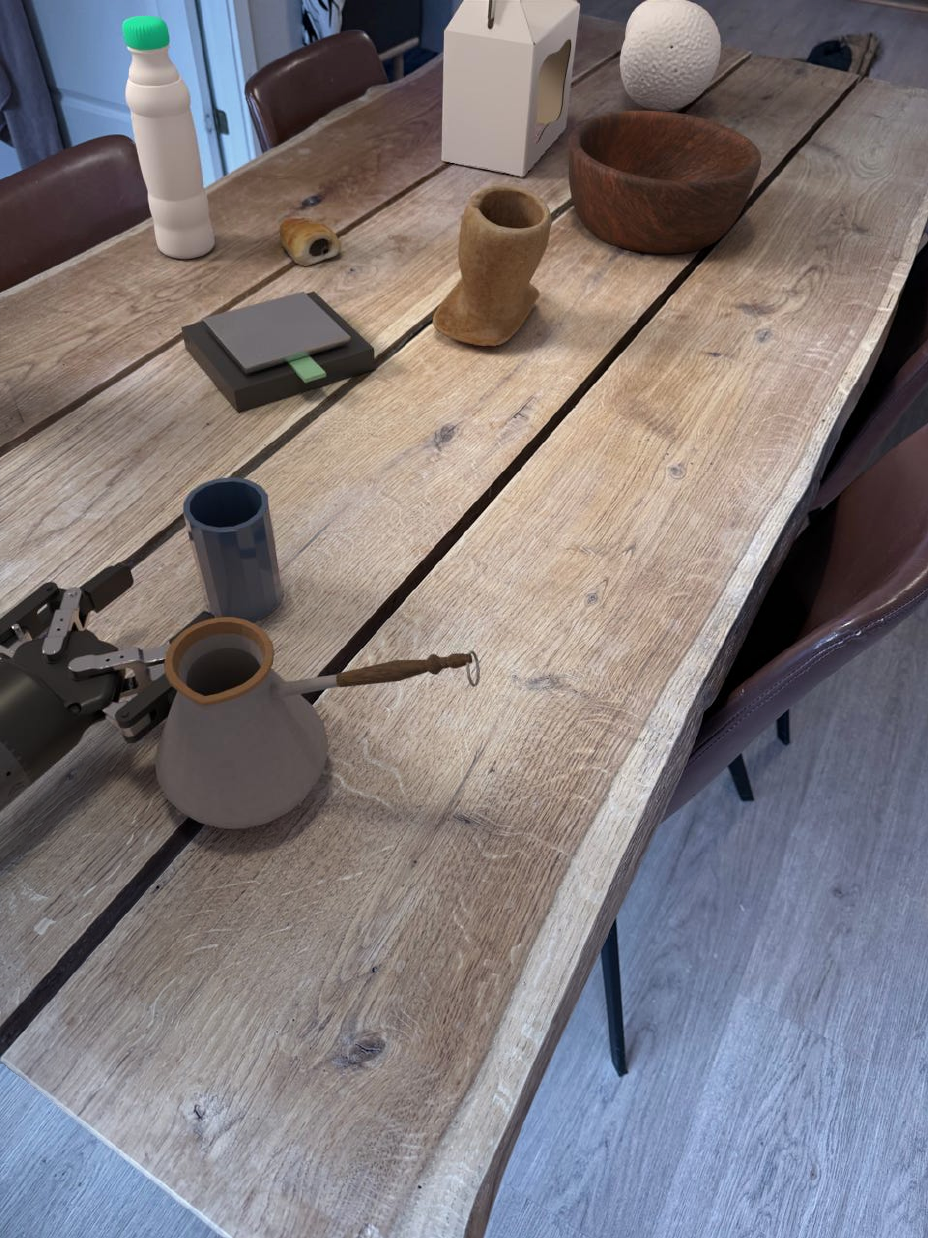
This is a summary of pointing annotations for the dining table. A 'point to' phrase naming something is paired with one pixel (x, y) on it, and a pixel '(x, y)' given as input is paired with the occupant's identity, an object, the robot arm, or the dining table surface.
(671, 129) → the wooden bowl
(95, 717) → the robot arm
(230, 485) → the cup
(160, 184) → the water bottle
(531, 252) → the stone cup
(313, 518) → the dining table surface
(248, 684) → the coffee pot
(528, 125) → the gable box
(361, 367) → the scale
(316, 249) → the pastry
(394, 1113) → the dining table surface
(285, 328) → the scale pan
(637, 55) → the decorative orb
